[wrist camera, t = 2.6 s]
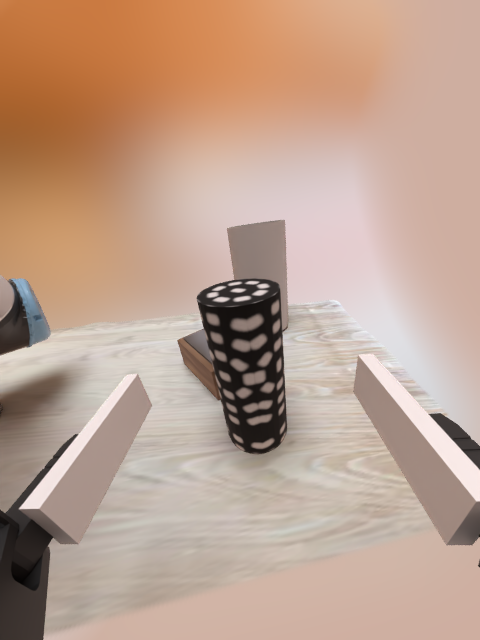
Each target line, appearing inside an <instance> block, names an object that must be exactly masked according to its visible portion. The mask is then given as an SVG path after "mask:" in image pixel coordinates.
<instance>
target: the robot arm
mask: <svg viewBox="0 0 480 640" xmlns="http://www.w3.org/2000/svg"><path fill="white" fill-rule="evenodd" d="M50 334H51V331H50V328H49V325H48V322H47V320H46V318H45V316H44V313H43V311H42V309H41V306H40V304H39V302H38V300H37V298H36V296H35V294H34V292H33V290H32V288H31V286H30V284H29V283H28V281H26V280H25V279H9V281H7V280H6V279H5V278H4V277H2V276H1V275H0V355H3V354H6V353H9V352H12V351H15V350H18V349H22V348H25V347H31V346H32V345H33V344H36V343H39V342H41V341H44V340H46V339H47V338H49V336H50ZM353 392H354V394H355V395H356V397H357V398H358V400H359V402H360V403H361V405H362V407H363V408H364V410H365V412H366V413H367V415H368V417H369V418H370V420H371V422H372V423H373V425H374V427H375V428H376V430H377V431H378V433H379V435H380V436H381V438H382V440H383V441H384V443H385V445H386V446H387V448H388V450H389V451H390V453H391V455H392V456H393V458H394V460H395V461H396V463H397V464H398V466H399V468H400V469H401V471H402V473H403V474H404V476H405V478H406V479H407V481H408V483H409V484H410V486H411V488H412V489H413V491H414V493H415V494H416V496H417V497H418V499H419V501H420V502H421V504H422V506H423V507H424V509H425V511H426V512H427V514H428V516H429V517H430V519H431V521H432V522H433V524H434V526H435V527H436V529H437V530H438V532H439V534H440V535H441V537H442V539H443V540H444V542H445V544H446V545H472V544H474V542H475V541H476V540H477V539H478V538H479V537H480V446H479V445H478V444H477V443H476V442H475V441H474V440H472V439H471V438H470V436H469V435H468V434H467V433H466V432H465V431H464V430H463V429H462V428H461V427H460V426H459V425H458V424H456V423H455V422H453V421H452V420H450V419H449V418H447V417H445V416H444V415H442V414H441V413H437V414H428V413H427V412H426V411H425V410H424V409H423V408H422V407H421V406H420V405H419V403H418V402H417V401H416V400H415V399H414V398H413V397H412V396H411V395H410V394H409V393H408V392H407V390H406V389H405V388H404V387H403V386H402V385H401V384H400V383H399V382H398V381H397V380H396V379H395V377H394V376H393V375H392V374H391V373H390V372H389V371H388V370H387V369H386V368H385V367H384V366H383V364H382V363H381V362H380V361H379V360H378V359H377V358H376V357H375V356H374V355H373V354H365V355H358V361H357V368H356V376H355V383H354V391H353ZM151 407H152V404H151V402H150V400H149V398H148V395H147V393H146V391H145V389H144V386H143V384H142V382H141V380H140V378H139V375H138V374H130V375H126V376H125V377H124V378H123V380H122V381H121V382H120V383H119V385H118V386H117V387H116V388H115V390H114V391H113V392H112V393H111V395H110V396H109V397H108V398H107V400H106V401H105V402H104V403H103V405H102V406H101V407H100V408H99V410H98V411H97V412H96V413H95V415H94V416H93V417H92V418H91V420H90V421H89V422H88V423H87V425H86V426H85V427H84V428H83V430H82V431H81V432H80V433H79V434H75V435H74V436H73V437H72V438H70V439H69V440H68V441H67V442H66V443H65V444H63V445H62V447H61V448H60V449H59V450H58V451H57V453H56V454H55V455H54V456H53V459H51V460H50V461H49V462H48V463H47V465H46V466H45V468H44V469H42V471H41V472H40V473H39V474H38V475H37V477H36V478H35V479H34V480H33V481H32V483H31V484H30V485H29V486H28V487H27V489H26V490H25V491H24V492H23V493H22V495H21V496H20V497H19V498H18V499H17V501H16V502H15V503H14V504H13V505H12V507H11V508H10V509H9V510H8V511H7V512H6V513H4V512H2V511H1V510H0V640H43V635H44V623H45V611H46V598H47V586H48V573H49V561H50V550H49V547H48V545H49V543H50V541H51V540H52V538H54V539H55V540H57V541H58V542H59V543H60V544H79V543H80V541H81V539H82V537H83V535H84V533H85V531H86V529H87V528H88V526H89V524H90V522H91V520H92V518H93V516H94V514H95V512H96V511H97V509H98V507H99V505H100V503H101V501H102V499H103V497H104V495H105V494H106V492H107V490H108V488H109V486H110V484H111V482H112V480H113V478H114V477H115V475H116V473H117V471H118V469H119V467H120V465H121V463H122V461H123V460H124V458H125V456H126V454H127V452H128V450H129V448H130V446H131V444H132V442H133V441H134V439H135V437H136V435H137V433H138V431H139V429H140V427H141V425H142V424H143V422H144V420H145V418H146V416H147V414H148V412H149V410H150V408H151ZM1 411H2V404H1V403H0V413H1ZM478 566H479V567H480V561H479V565H478Z"/></svg>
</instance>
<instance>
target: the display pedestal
mask: <svg viewBox="0 0 480 640" xmlns="http://www.w3.org/2000/svg"><path fill="white" fill-rule="evenodd" d="M177 341H178V344H179V347H180V351H181V354H182V357H183V360H184V363H185V365H186V366H187V367H188V368H189V369H190V370H191V371H192V372H193V373H194V374H195V375H196V377H197V378H198V379H199V380H200V381H201V382H202V383H203V384H204V385H205V386H206V387H207V389H208V390H209V391H210V392H211V393H212V394H213V395H214V396H215V397H216V398H217V399H218V400H220V399H221V398H220V394H219V390H218V386H217V381H216V377H215V373H214V369H213V365H212V360H211V356H210V352H209V348H208V344H207V339H206V335H205V331H204V329H202V330H199V331H197V332H195V333H193V334H190V335H188V336H186V337H183V338H181V339H179V340H177Z"/></svg>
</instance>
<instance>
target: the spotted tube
mask: <svg viewBox="0 0 480 640" xmlns="http://www.w3.org/2000/svg"><path fill="white" fill-rule="evenodd" d="M197 302H198V305H199V310H200V314H201V318H202V323H203V327H204V331H205V335H206V339H207V344H208V348H209V352H210V356H211V360H212V365H213V369H214V373H215V377H216V381H217V386H218V390H219V394H220V398H221V402H222V406H223V411H224V415H225V419H226V423H227V427H228V432H229V436H230V438H231V440H232V441H233V443H234V444H235V445H236V446H237V447H238V448H239V449H241V450H243V451H245V452H248V453H254V454H260V453H266V452H269V451H271V450H273V449H274V448H276V447H277V446H278V445H279V444H280V443H281V442H282V440H283V439H284V437H285V434H286V430H287V420H286V399H285V378H284V356H283V335H282V313H281V292H280V285H279V284H278V283H277V282H275V281H272V280H267V279H256V278H252V279H239V280H232V281H228V282H223V283H219V284H216V285H213V286H211V287H209V288H207V289H205V290H203V291H202V292H200V293H199V294H198V296H197Z"/></svg>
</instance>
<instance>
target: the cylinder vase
mask: <svg viewBox="0 0 480 640" xmlns="http://www.w3.org/2000/svg"><path fill="white" fill-rule="evenodd" d="M227 232H228V239H229V246H230V252H231V259H232V266H233V273H234V280H239V279H252V278H256V279H267V280H272V281H275V282H277V283H278V284H279V285H280V292H281V313H282V331H283V330H284V329H285V328H286V327H287V325H288V302H287V271H286V270H287V269H286V240H285V239H286V238H285V220H278V221H270V222H262V223H254V224H248V225H241V226H235V227H230V228H227Z"/></svg>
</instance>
